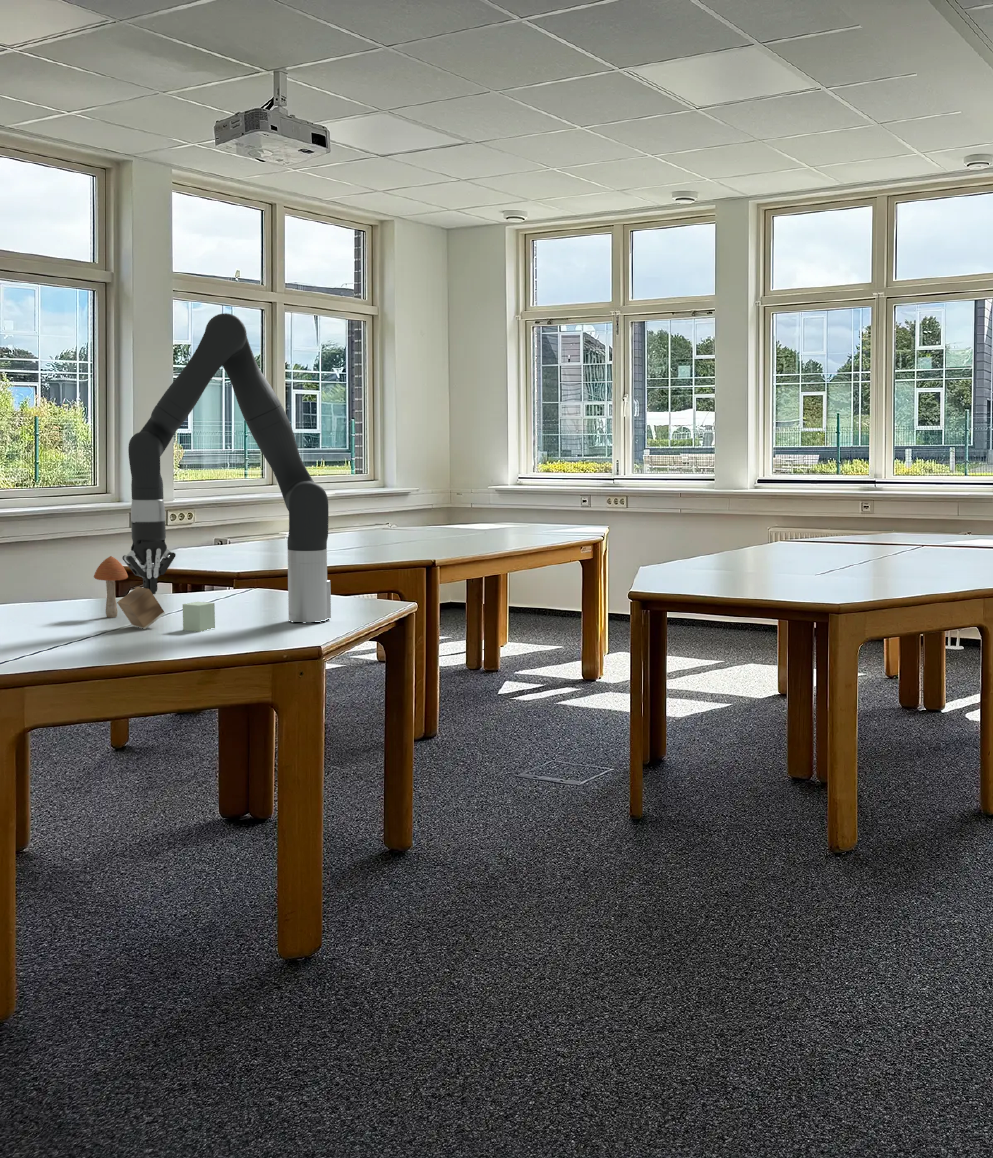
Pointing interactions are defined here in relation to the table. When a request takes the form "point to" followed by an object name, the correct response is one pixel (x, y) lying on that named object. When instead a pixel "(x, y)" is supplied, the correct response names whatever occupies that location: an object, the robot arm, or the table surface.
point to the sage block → (198, 616)
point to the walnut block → (141, 607)
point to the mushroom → (110, 581)
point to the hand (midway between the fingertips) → (150, 594)
